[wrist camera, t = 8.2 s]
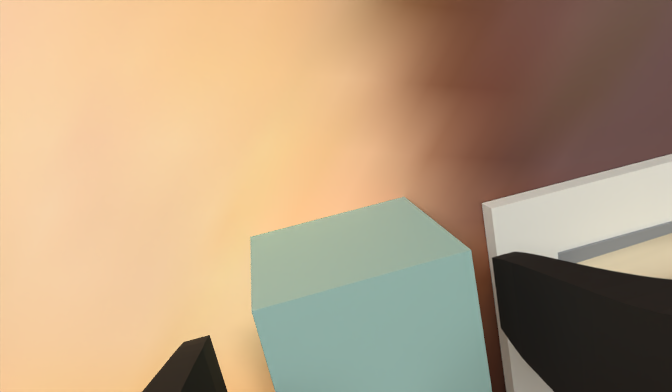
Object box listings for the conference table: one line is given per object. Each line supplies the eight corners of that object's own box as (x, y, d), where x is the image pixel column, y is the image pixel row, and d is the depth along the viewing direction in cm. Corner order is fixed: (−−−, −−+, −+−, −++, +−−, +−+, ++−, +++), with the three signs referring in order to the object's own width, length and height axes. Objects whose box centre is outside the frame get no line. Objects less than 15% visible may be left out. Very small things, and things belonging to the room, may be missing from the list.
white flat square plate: (740, 374, 18) (759, 386, 17) (513, 447, 17) (524, 462, 16) (746, 134, 16) (769, 137, 15) (481, 203, 15) (492, 209, 14)
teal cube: (428, 330, 15) (497, 430, 11) (288, 371, 15) (305, 493, 11) (403, 196, 14) (471, 250, 10) (250, 236, 14) (251, 311, 9)
